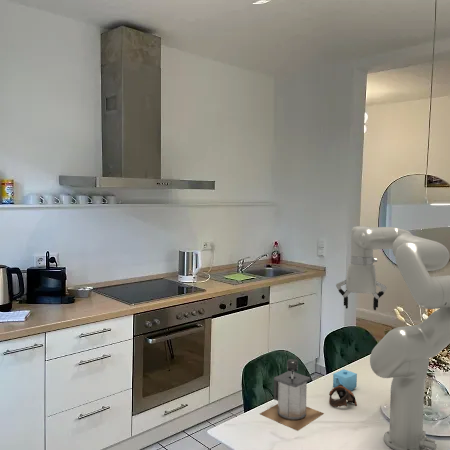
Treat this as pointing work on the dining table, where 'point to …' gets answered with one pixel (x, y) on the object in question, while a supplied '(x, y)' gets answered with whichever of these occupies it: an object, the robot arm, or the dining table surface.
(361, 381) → the dining table surface
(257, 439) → the dining table surface
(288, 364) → the plunger
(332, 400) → the brown curved piece
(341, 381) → the blue square teapot
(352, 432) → the dining table surface
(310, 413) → the walnut board
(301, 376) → the press carafe
